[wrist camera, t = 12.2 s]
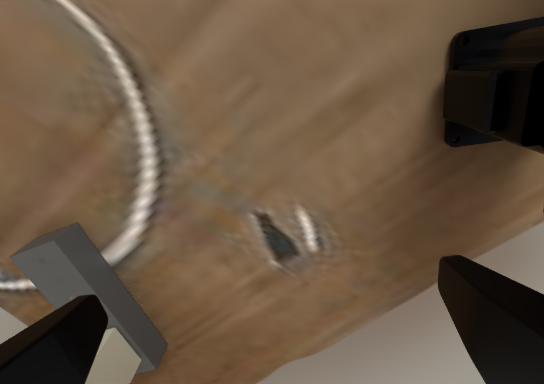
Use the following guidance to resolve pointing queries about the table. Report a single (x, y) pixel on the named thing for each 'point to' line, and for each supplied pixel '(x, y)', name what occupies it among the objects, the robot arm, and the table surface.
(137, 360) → the cream tall block
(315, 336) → the table surface
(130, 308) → the gray rectangular bar
